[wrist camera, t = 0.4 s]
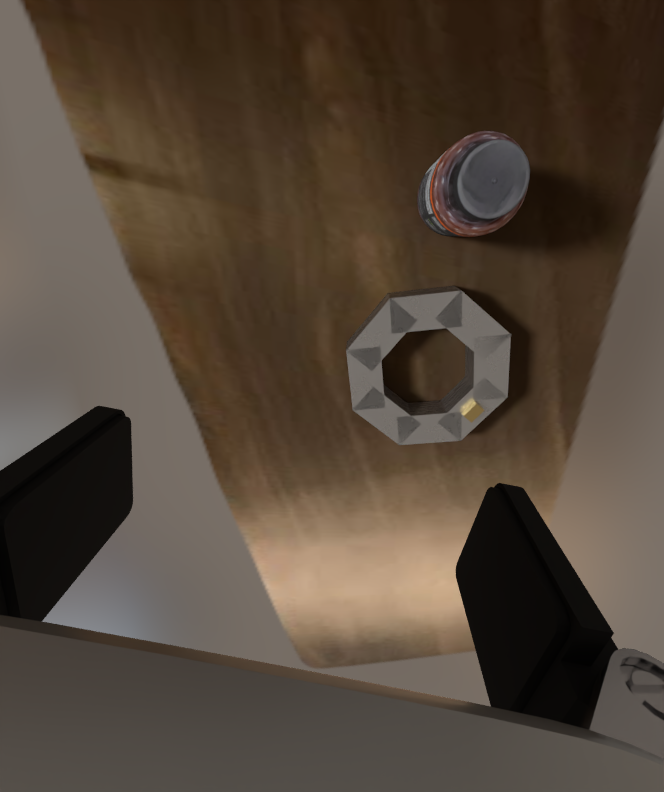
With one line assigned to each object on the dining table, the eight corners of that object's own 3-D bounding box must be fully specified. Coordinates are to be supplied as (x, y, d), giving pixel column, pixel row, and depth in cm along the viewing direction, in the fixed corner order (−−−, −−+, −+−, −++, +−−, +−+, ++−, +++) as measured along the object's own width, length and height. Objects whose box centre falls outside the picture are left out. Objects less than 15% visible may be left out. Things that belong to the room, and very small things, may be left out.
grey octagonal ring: (419, 254, 34) (425, 257, 31) (530, 353, 37) (548, 366, 34) (320, 373, 39) (316, 386, 36) (425, 453, 42) (431, 473, 38)
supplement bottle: (501, 165, 32) (571, 132, 21) (474, 243, 34) (525, 249, 23) (428, 146, 31) (462, 104, 21) (406, 226, 34) (427, 224, 23)
